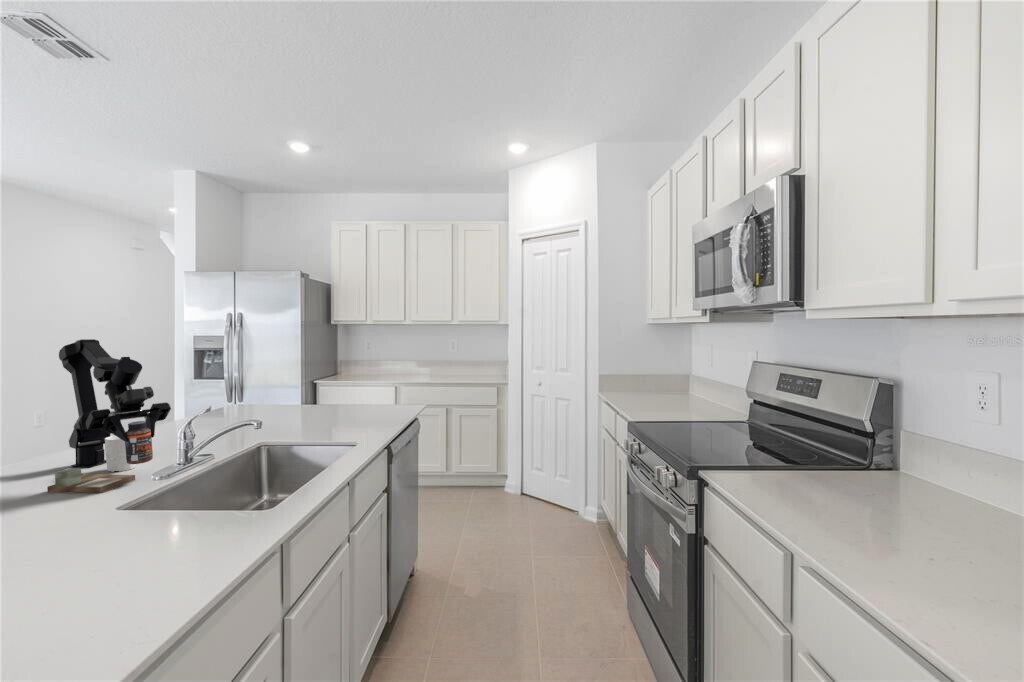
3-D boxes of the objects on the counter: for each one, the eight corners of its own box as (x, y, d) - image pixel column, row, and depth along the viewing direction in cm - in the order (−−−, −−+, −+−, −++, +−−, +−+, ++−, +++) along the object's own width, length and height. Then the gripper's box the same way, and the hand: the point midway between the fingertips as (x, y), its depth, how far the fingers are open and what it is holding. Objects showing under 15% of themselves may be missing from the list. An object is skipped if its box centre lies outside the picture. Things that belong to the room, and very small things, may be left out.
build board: (47, 492, 125) (47, 473, 125) (86, 479, 136) (86, 461, 136) (100, 493, 124) (100, 473, 124) (135, 480, 135) (135, 462, 135)
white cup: (110, 467, 148) (109, 435, 148) (141, 464, 152) (140, 433, 151) (100, 474, 141) (100, 440, 141) (133, 470, 144) (133, 438, 144)
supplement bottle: (139, 465, 131) (135, 425, 130) (121, 464, 132) (117, 425, 131) (158, 458, 137) (155, 420, 136) (141, 457, 138) (137, 419, 137)
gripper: (89, 381, 128) (108, 426, 122) (167, 375, 144) (187, 415, 139) (78, 407, 132) (95, 452, 126) (155, 399, 148) (173, 439, 143)
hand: (140, 438), depth 133 cm, fingers closed on supplement bottle, 6 cm apart
